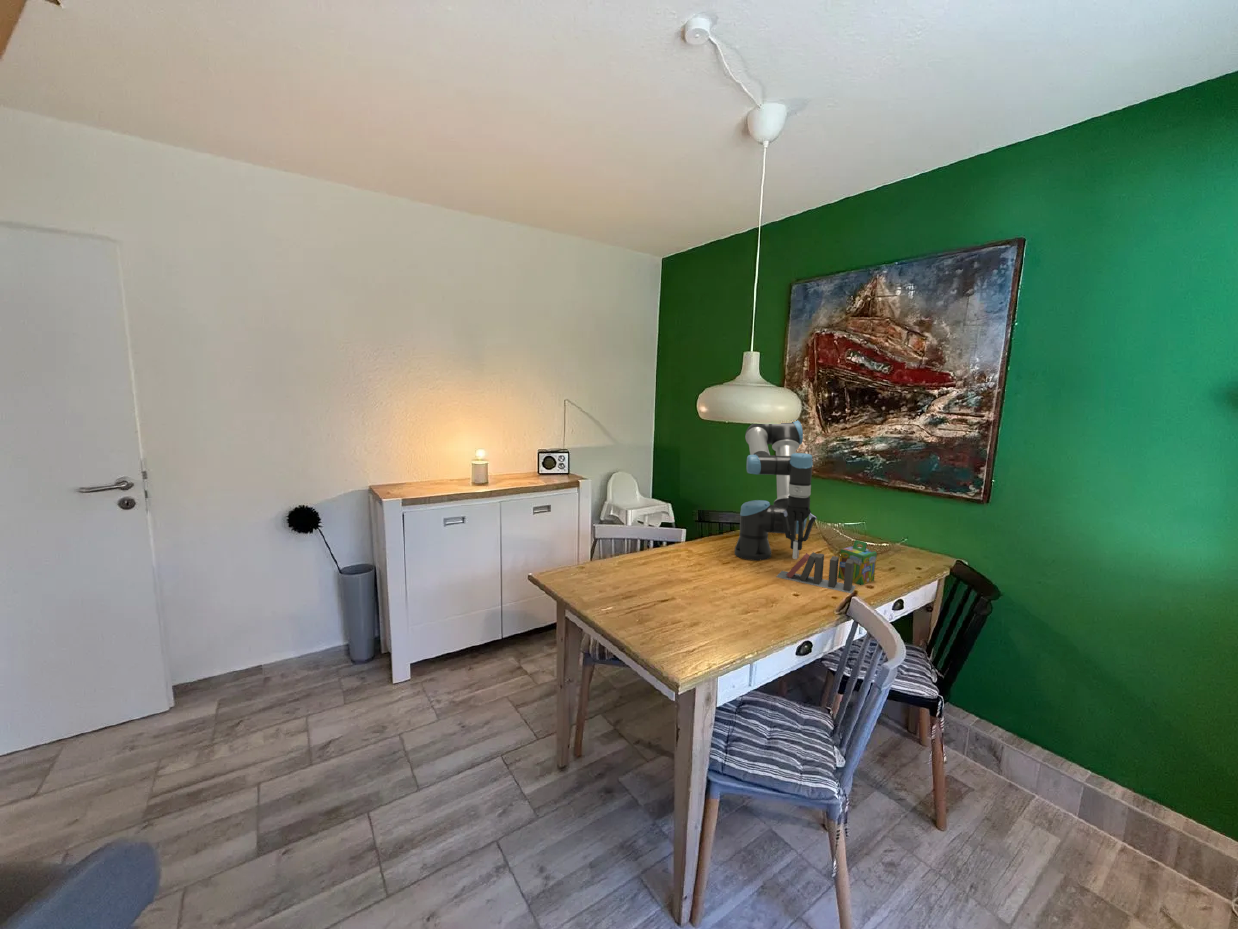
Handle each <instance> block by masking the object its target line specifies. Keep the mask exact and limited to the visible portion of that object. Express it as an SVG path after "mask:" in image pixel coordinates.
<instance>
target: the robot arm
mask: <svg viewBox="0 0 1238 929" xmlns="http://www.w3.org/2000/svg"><path fill="white" fill-rule="evenodd" d="M796 420H797V421H795V422H792V423H781V424H753V423H752V424H750V425H749V426H748V427H747V429H746V430H745V435H744V436H745V441H746V444H748V447H749V454H748V455H747V457H746V473H747V474H751V475H757V476H759V475H764V476H765V475H766V476H767V475H772V476H774V475H776V497H777V498H776V499H775V500H773V504H771V503H770V502H769V501H768V500H762V499H760V500H759V499H755V500H749V501H746V502H744V503H743V504H742V505H741V506H740V513H739V516H740V520H739V521H740V522H739V537H738V539H737V542H736V545H735V547H734V555H735V556H736V557H737V558H741V559H744V560H748V561H756V562H757V561H766V560H768V559H770V558H771V557H772V548H771V545H770V543H769V533H772V534H784V536H785V538H786V539H788V540H789V541H790V549H791V550H792V559H794V560H798V559H799V557H800V556H799V555H800V551H801V550H803V549H802V548H803V543H804V542H807V541H808V540H809V537H810V534H811V531H812V529H813V525H814V522H815V521H816V520H817V519H818V517H817V516H816V515H814V514H812V511H811V509H810V508H811V507H810V506H811V497H810V496H811V494H812V492H811V491H812V490H811V489H812V474H813V465H814V462H813V455H812V454H811V453H804V452H803V453H802V452H797V451H798V449H799V448H800V445H802V444H803V441H804V436H803V434H804V432H803V426H802V423H801V421H800V420H798V419H796ZM769 445H771V448H772V450H773V451H774V452H775V455H772V454H771V453H770V451H769V450H770V449H769ZM807 520H809V521H808V523H807ZM806 524H807V527H806ZM805 528H806V530H805ZM804 531H805V532H804Z"/></svg>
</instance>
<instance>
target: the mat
mask: <svg viewBox="0 0 1238 929" xmlns="http://www.w3.org/2000/svg"><path fill="white" fill-rule="evenodd" d="M788 572H789V571H786V570H781V571H780V572H779V573H778V574H777V575H776V576H775V577H776V578H779V579H782V580H788V581H792V582H796V583H797V582H798V583H801V584H806V585H811V586H815V587H819V588H820V587H821V588H824V589H829V590H834V591H839V592H842V593H846V594H847V593H848V594H853V593H854V591H855V588H856V585H853V584H852V588H851V590H850V591H846V590H843V588H844V582H838V581H837V584H836V586H835V587H834V588H832V587H828V581H829V579H824V578H822V581H821V583H820V584H819V585H818V584H813V581H814V576H810V575H809V577H808V578H807V580H806V581H805V582H804V581H802V580H801V579H800V577H801V574H802V573H801V574H800V573H797V572H796V573H795V574H794V575H793V576H792V577H791V579H790V578H789V577H788V576H787V575H786V574H787V573H788Z"/></svg>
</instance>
